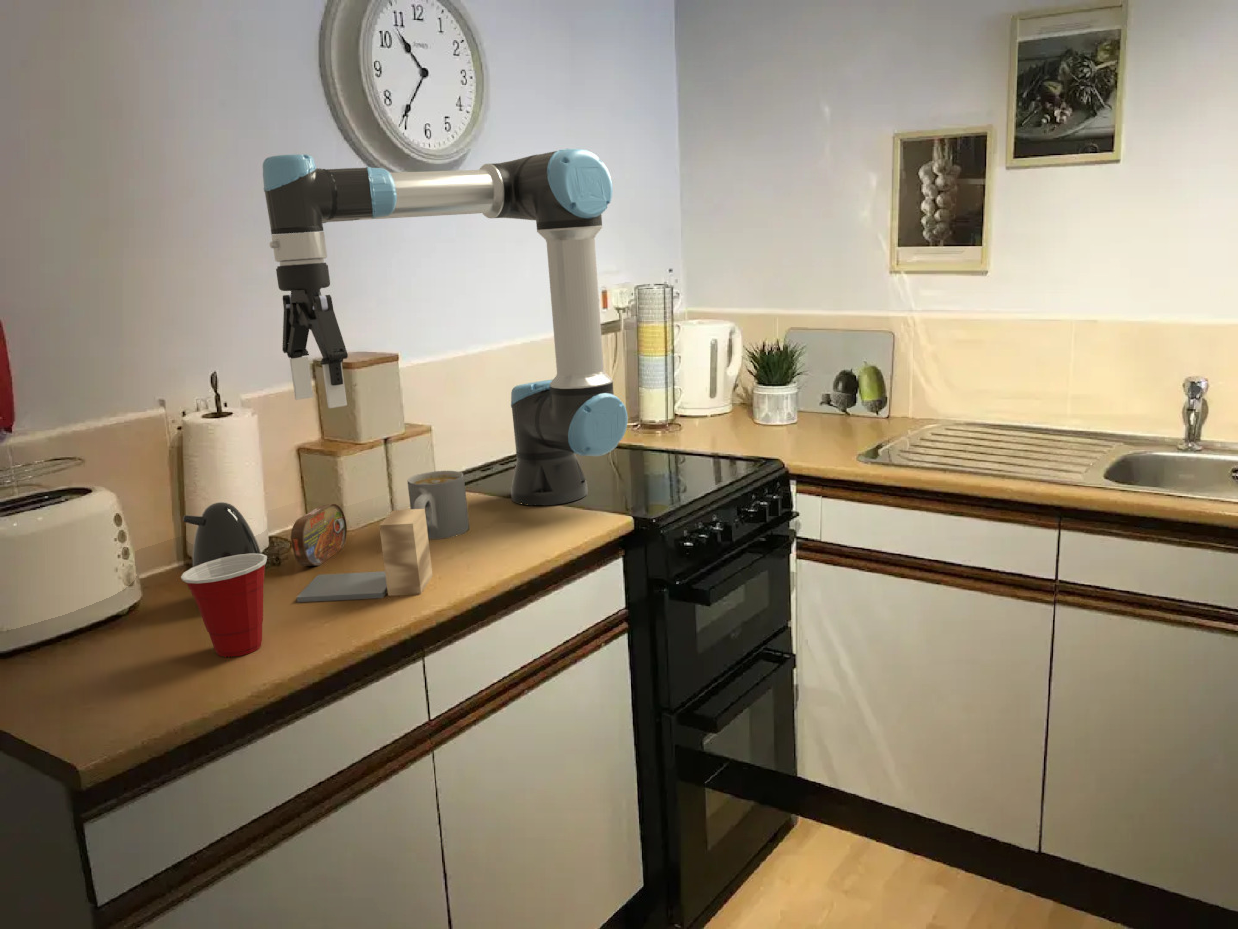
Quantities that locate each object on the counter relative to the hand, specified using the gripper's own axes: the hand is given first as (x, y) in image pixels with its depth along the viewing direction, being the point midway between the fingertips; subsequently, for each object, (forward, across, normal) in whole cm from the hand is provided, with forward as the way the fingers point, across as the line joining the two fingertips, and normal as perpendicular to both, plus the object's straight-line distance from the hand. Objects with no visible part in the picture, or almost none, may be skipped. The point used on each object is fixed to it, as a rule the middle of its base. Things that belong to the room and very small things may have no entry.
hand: (320, 402), depth 159 cm
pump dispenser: (+28, -2, -17) cm, 33 cm away
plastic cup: (+28, +19, -23) cm, 41 cm away
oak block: (+28, +14, +5) cm, 32 cm away
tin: (+28, -11, +1) cm, 31 cm away
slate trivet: (+28, +8, -2) cm, 29 cm away
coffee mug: (+28, -9, +21) cm, 36 cm away
